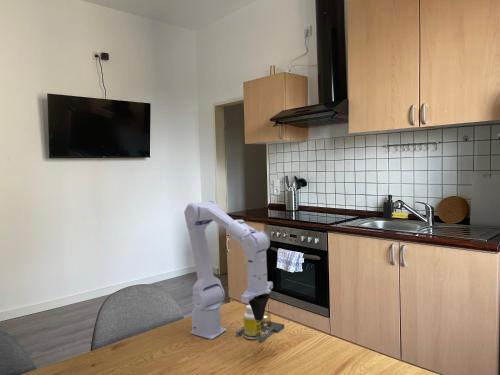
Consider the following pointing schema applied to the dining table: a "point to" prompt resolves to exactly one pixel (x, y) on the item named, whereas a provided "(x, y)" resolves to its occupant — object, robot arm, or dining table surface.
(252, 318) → the supplement bottle
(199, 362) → the dining table surface
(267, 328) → the grey flat branched piece
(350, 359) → the dining table surface
